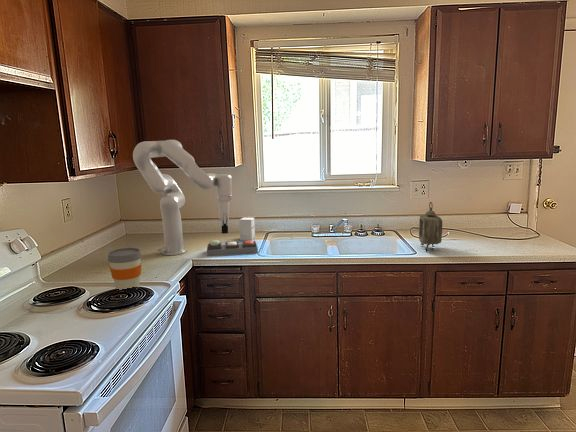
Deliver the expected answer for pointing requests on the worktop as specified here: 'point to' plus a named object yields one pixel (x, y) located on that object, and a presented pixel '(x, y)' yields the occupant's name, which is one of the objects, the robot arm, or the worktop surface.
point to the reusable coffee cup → (125, 267)
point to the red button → (249, 242)
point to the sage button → (214, 243)
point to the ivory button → (232, 243)
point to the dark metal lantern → (430, 228)
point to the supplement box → (247, 229)
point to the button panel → (231, 249)
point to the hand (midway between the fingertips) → (224, 233)
